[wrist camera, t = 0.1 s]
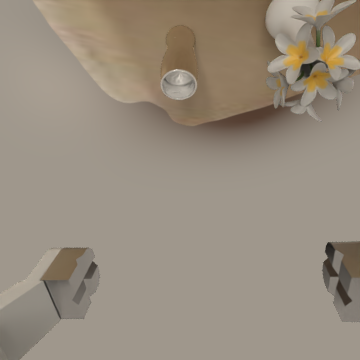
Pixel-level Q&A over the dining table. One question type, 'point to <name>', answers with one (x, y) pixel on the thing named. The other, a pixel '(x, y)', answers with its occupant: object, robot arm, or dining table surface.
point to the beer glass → (179, 64)
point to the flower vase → (309, 53)
